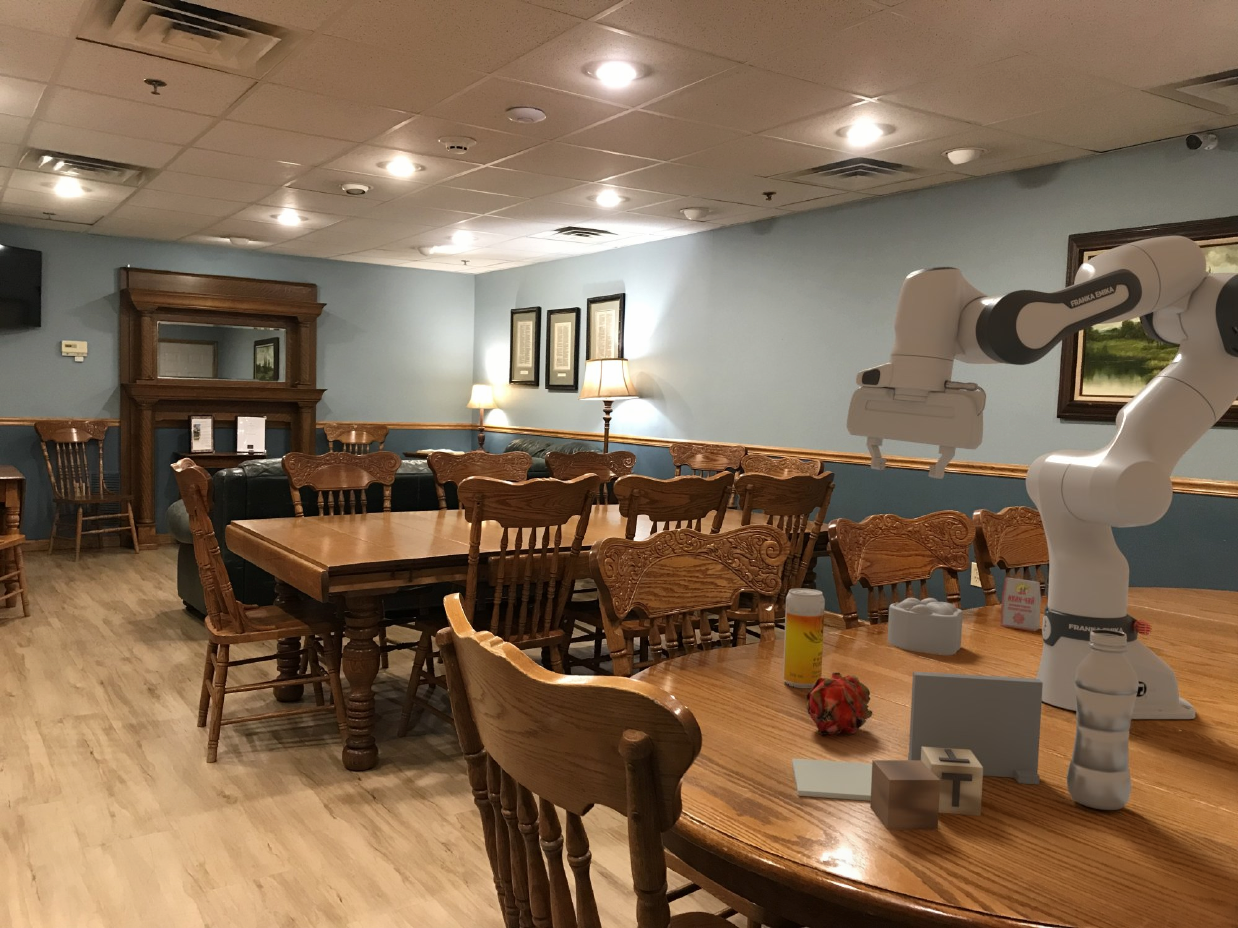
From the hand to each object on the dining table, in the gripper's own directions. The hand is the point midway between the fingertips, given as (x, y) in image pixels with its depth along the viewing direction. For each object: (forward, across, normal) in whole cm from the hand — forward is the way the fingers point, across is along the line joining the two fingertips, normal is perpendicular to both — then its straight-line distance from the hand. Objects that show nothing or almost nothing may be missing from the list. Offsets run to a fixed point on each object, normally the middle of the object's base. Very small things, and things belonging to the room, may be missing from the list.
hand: (906, 473), depth 138 cm
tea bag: (+32, +11, -73) cm, 80 cm away
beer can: (+36, +15, -2) cm, 39 cm away
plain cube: (+36, -22, +30) cm, 52 cm away
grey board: (+35, -21, +12) cm, 42 cm away
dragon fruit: (+36, -2, +12) cm, 38 cm away
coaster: (+36, -12, +27) cm, 47 cm away
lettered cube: (+36, -24, +23) cm, 48 cm away
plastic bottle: (+34, -35, +10) cm, 50 cm away
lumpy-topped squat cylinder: (+34, +15, -41) cm, 56 cm away
